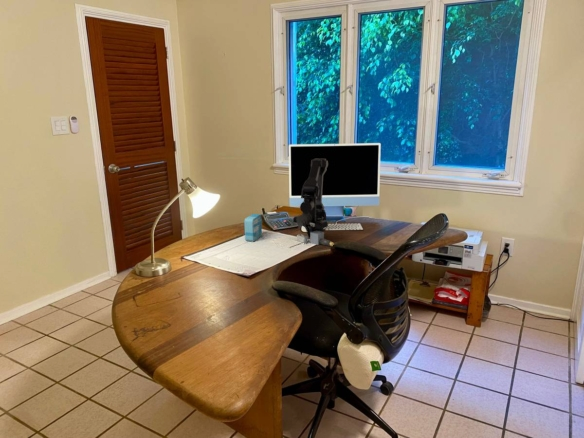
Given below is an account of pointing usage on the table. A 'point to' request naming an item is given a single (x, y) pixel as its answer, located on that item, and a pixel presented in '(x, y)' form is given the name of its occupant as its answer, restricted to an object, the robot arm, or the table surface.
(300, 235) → the housing
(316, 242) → the plug
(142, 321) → the table surface
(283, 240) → the mat
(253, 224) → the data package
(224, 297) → the table surface
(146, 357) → the table surface
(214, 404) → the table surface
